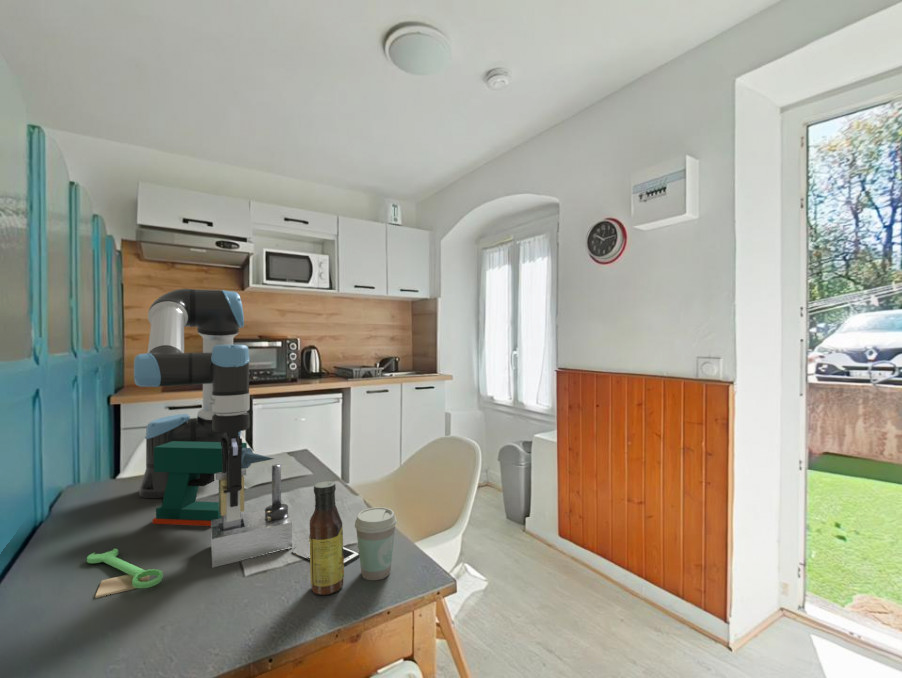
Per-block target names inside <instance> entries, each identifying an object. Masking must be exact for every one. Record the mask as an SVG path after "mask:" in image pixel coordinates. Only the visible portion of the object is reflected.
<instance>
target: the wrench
mask: <svg viewBox="0 0 902 678" xmlns="http://www.w3.org/2000/svg"><path fill="white" fill-rule="evenodd" d="M118 555H119V549H118V548H113V549H112V550H109V551H106V552H103V553H96V552H93V553H90V554H89V555H88V556H87V557H86V562H87V563H88V564H99V563H105V564H107V565H109V566H110V567H113V568H115V569H116V570H119V571H121V572H123V573H125V574H126V575H128V574H129V575H132V576H134V577H133V579H132V585H133V586H134V587H135V588H136V589H148V588H151V587H154V586H157V585H158V584H160V583H161V582H162V581H163V577H164V572H163V571H162V569H156V568H155V569H154V568H152V569H151V568H150V569H147V570H145V569H144V568H141V567H139V566H137V565H134V564H132V563H129V562H128V561H125V560H124V559H121V558H118V557H117V556H118ZM148 575H150V577H151V576H155V578H153V579H149V581H147V582H140V581H137V580H138V579H141V578H142V577H146V576H148Z"/></svg>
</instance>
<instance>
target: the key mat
mask: <svg viewBox="0 0 902 678" xmlns="http://www.w3.org/2000/svg"><path fill="white" fill-rule="evenodd" d="M133 577H134V576H132V575H129V574H125V575H119V576H115V577H110V578H107V579H102V580H101V582H100V583H99V585H98V588H97V591H96V593H95V596H94V598H95V599H99V598H102V597H105V596H106V595H107V596H110V594H111V595H114V594H118V593H122V592H126V591H127V592H128V591H131V590H134V589H137V588H135V587H134V586H133V585H132V579H133ZM150 578H151V576H150V575H148V576H146V577H142V578H141V579H138V580H137V581H140V582H147V581H150Z"/></svg>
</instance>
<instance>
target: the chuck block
mask: <svg viewBox="0 0 902 678" xmlns="http://www.w3.org/2000/svg"><path fill="white" fill-rule="evenodd" d="M288 547H292V548H293V521H292V519H291V518H290V515H289V505H287V504H286V503H282V464H280V463H279V464H272V466H271V505H269V506H267V507H265V508H264V509H261V510H258V511H251V512H247V513H246V512H245V513H241V528H237V529H232V530H227V531H223V530H222V518H220V519H215V520H211V526H210V548H211V549H210V550H211V553H210V554H211V567H212V568H216V567H221V566H225V565H229V564H234V563H238V562H241V560H242V561H244V560H243V559H247V558H251V557H255V556H259V555H262V554H266V553H269V552H273V551H277V550H281V549H285V548H288ZM259 557H260V556H259ZM255 558H256V557H255ZM251 559H252V558H251ZM247 560H248V559H247Z"/></svg>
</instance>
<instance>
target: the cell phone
mask: <svg viewBox="0 0 902 678" xmlns="http://www.w3.org/2000/svg"><path fill="white" fill-rule="evenodd" d="M295 548H296V547H294V548H293V549H295ZM293 549H292V550H293ZM293 551H294V550H293ZM343 557H344V567H345V566H347V565H349V564H351V563H353V562H354V561H356V560H358V559H360V556H359V551H356V550H353V549H351V548H349V547H346V546H344V545H343ZM308 559H309V560H310V557H308ZM309 560H308V561H309Z"/></svg>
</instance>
